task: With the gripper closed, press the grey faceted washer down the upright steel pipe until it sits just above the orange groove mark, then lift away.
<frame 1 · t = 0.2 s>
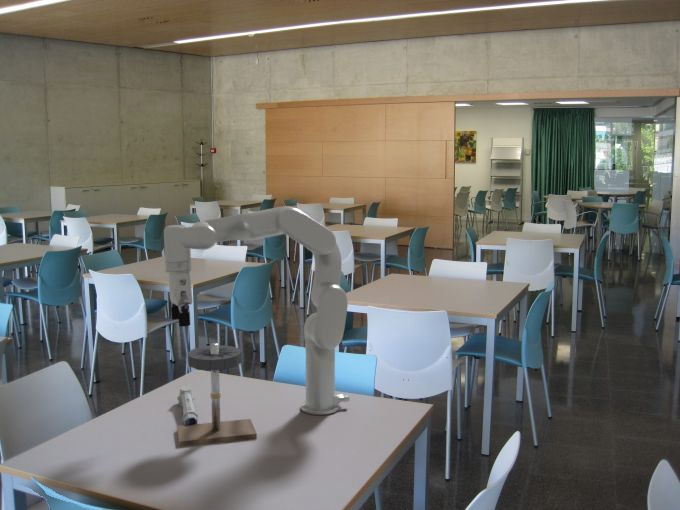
hand: (180, 322, 213), 32 cm above the table, tool pointing down, fingers open, 9 cm apart
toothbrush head: (188, 415, 224), on the table
grey faceted washer: (214, 357, 205), point 24 cm above the table, slide at 0.0 cm
steel pipe: (215, 387, 206), on the pipe stand base, point 14 cm above the table
pipe stand base: (216, 434, 208), on the table
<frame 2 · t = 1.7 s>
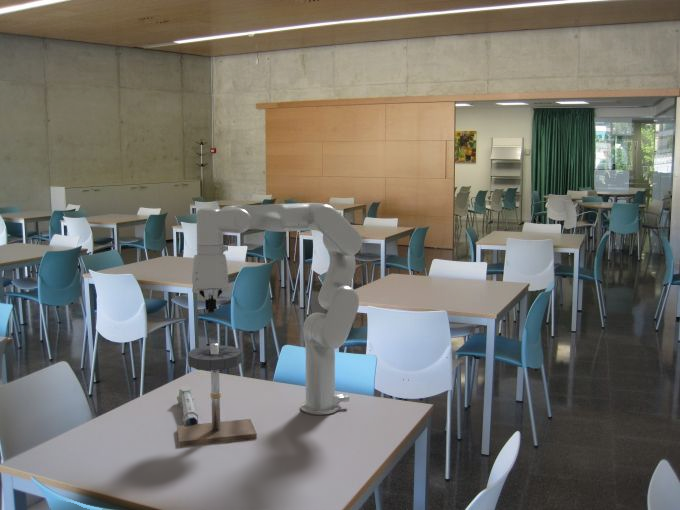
hand: (210, 311, 209), 36 cm above the table, tool pointing down, fingers closed
nothing on the table moved.
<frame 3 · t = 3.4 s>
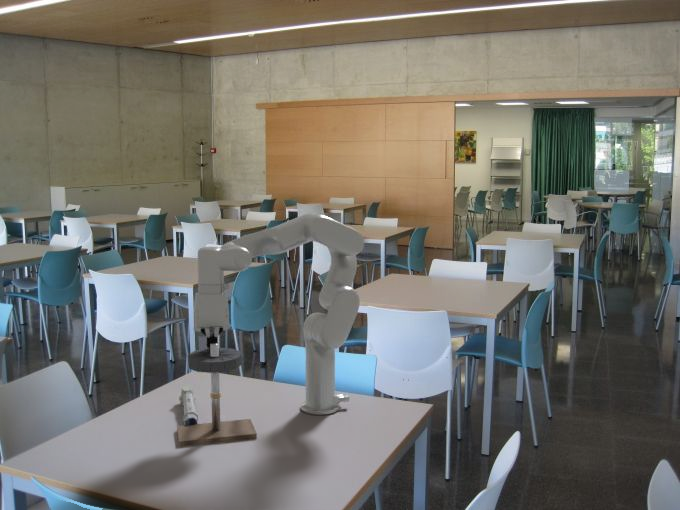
hand: (212, 349, 210), 24 cm above the table, tool pointing down, fingers closed
grey faceted washer: (214, 359, 205), point 23 cm above the table, slide at 0.7 cm, touching gripper
everything else where it was.
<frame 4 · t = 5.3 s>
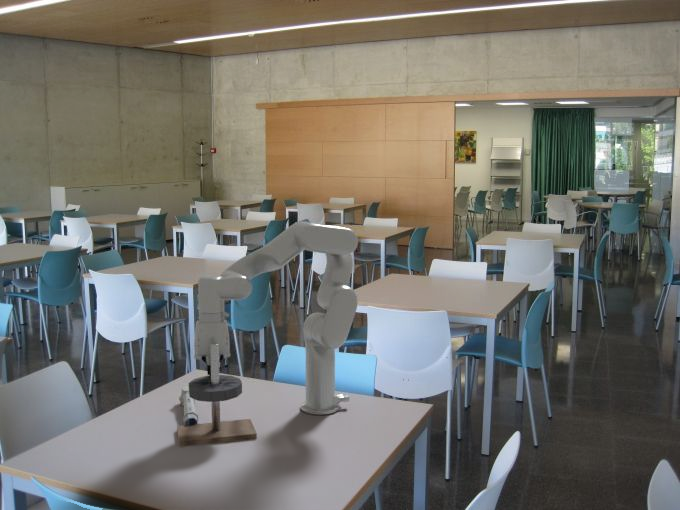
hand: (212, 376, 212), 16 cm above the table, tool pointing down, fingers closed
grey faceted washer: (215, 387, 206), point 14 cm above the table, slide at 9.2 cm, touching gripper
everything else where it was.
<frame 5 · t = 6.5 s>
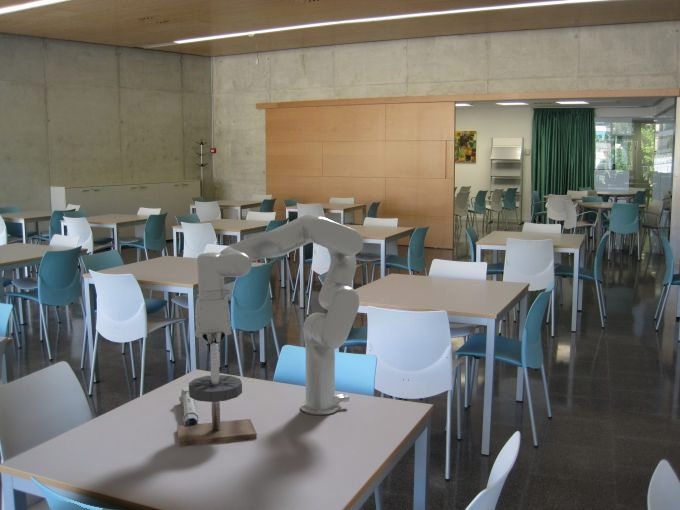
hand: (214, 354, 211), 23 cm above the table, tool pointing down, fingers closed
grey faceted washer: (215, 387, 206), point 14 cm above the table, slide at 9.2 cm
everything else where it was.
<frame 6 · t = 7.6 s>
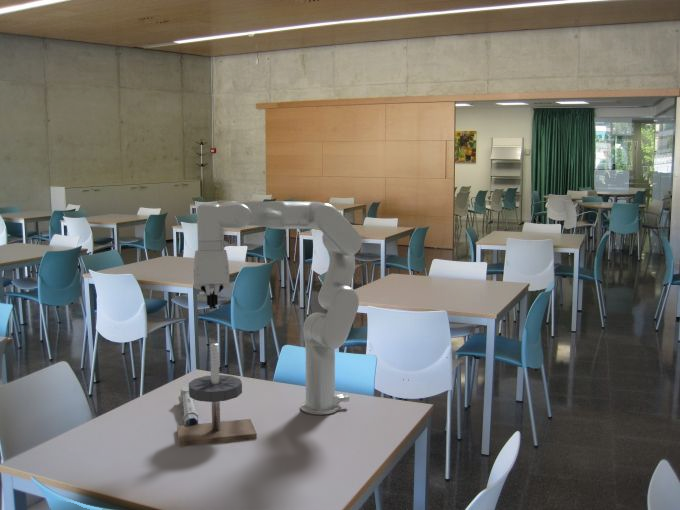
hand: (212, 307, 209), 37 cm above the table, tool pointing down, fingers closed
nothing on the table moved.
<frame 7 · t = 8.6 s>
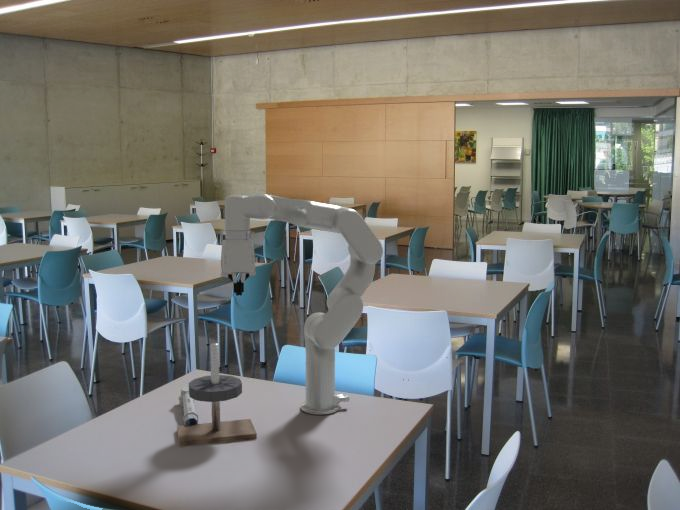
hand: (238, 294, 217), 39 cm above the table, tool pointing down, fingers closed
nothing on the table moved.
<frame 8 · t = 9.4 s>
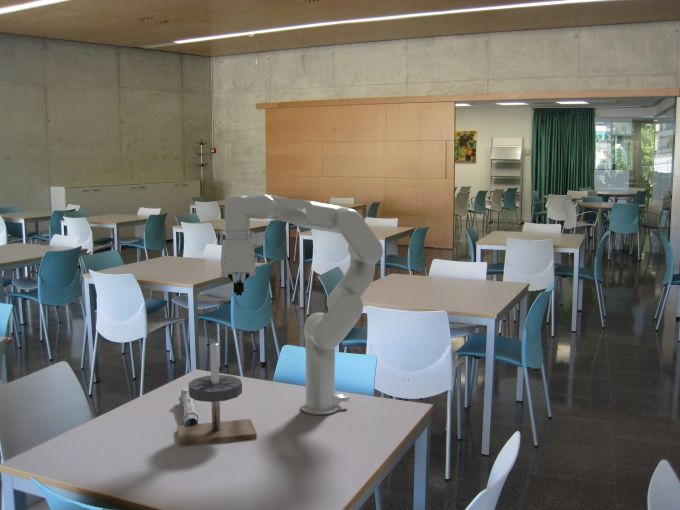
hand: (238, 294, 217), 39 cm above the table, tool pointing down, fingers closed
nothing on the table moved.
at the end: grey faceted washer slide at 9.2 cm; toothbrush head moved 0.9 cm from its start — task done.
